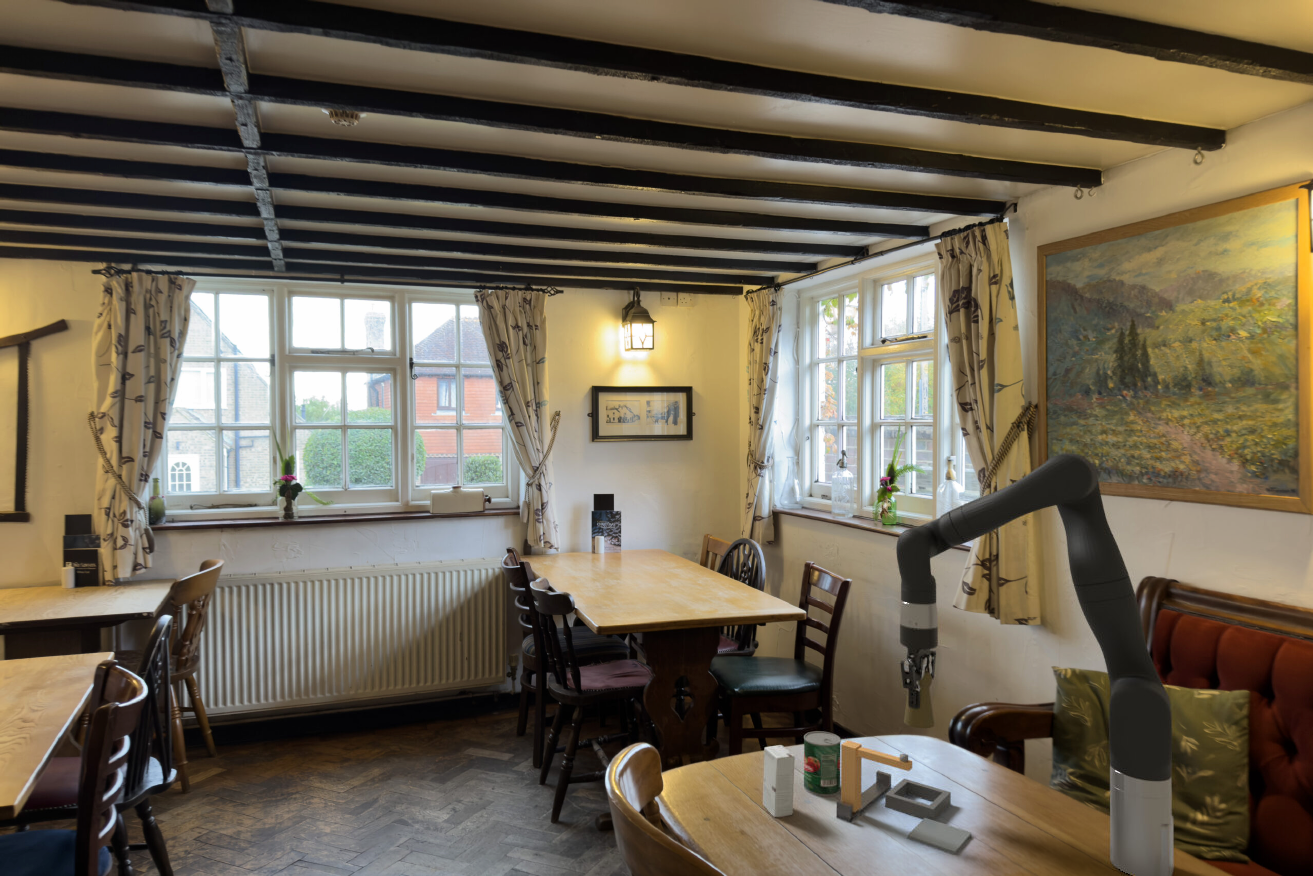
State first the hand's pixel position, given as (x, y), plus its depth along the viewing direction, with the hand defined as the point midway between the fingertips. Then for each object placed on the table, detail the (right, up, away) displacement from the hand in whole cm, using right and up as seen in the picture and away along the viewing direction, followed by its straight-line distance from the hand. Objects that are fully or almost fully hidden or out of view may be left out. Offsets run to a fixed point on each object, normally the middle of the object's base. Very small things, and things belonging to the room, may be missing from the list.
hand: (919, 704), depth 157 cm
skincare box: (-30, -21, -3) cm, 37 cm away
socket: (0, -21, 0) cm, 21 cm away
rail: (-11, -21, +1) cm, 24 cm away
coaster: (-1, -21, -13) cm, 25 cm away
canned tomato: (-19, -21, +8) cm, 29 cm away
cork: (0, -4, 0) cm, 4 cm away
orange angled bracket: (-11, -20, -7) cm, 24 cm away
